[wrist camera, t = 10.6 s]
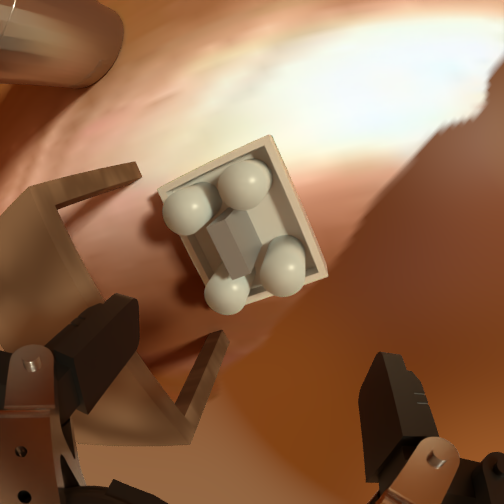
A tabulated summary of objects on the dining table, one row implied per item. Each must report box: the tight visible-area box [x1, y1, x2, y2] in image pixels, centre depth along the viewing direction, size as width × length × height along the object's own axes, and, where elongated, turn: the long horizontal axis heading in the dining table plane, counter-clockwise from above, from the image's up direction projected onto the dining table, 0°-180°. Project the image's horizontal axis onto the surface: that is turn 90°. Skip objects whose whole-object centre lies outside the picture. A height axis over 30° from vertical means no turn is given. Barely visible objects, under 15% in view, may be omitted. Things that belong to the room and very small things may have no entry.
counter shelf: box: [0, 162, 229, 446], centre depth 26 cm, size 20×14×14 cm
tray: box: [157, 135, 328, 315], centre depth 25 cm, size 12×10×7 cm
